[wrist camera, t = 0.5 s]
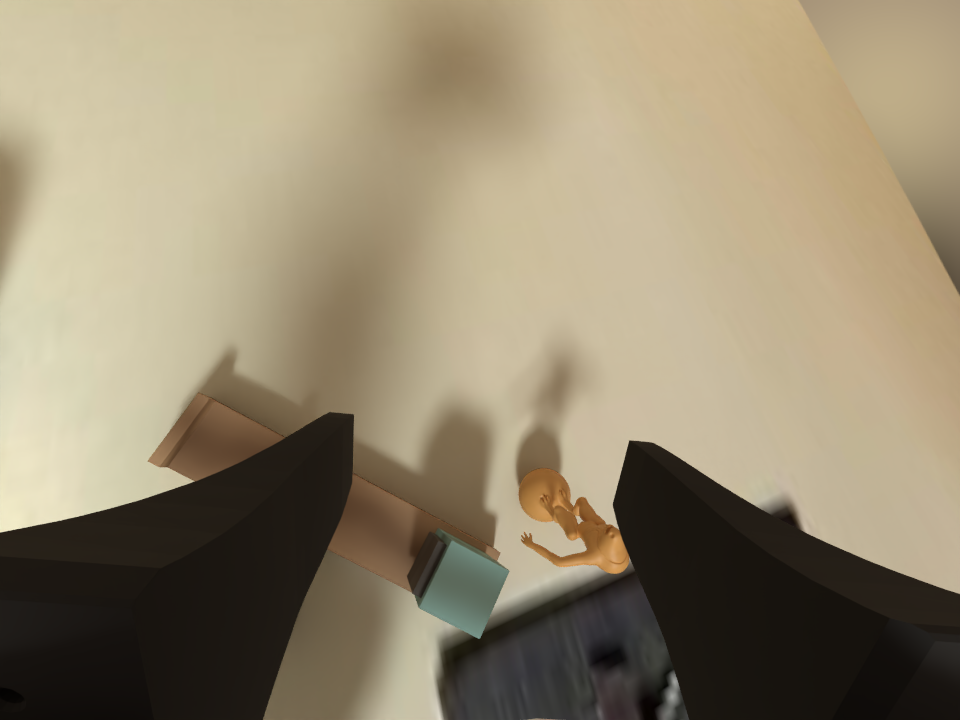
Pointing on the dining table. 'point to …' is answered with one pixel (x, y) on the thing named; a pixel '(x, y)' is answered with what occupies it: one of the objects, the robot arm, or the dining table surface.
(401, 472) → the dining table surface
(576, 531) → the figurine
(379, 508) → the rail
